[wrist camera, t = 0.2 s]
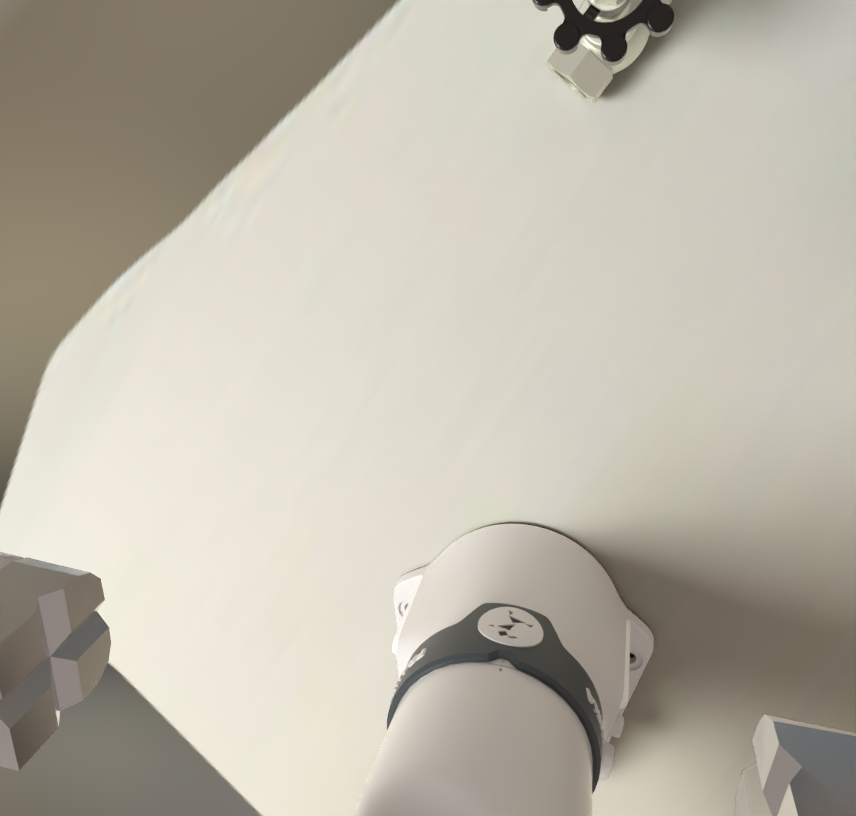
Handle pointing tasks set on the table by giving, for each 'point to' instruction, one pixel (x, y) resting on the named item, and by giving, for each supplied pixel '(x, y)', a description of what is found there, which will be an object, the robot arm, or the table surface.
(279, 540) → the table surface
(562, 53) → the valve
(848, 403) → the table surface
